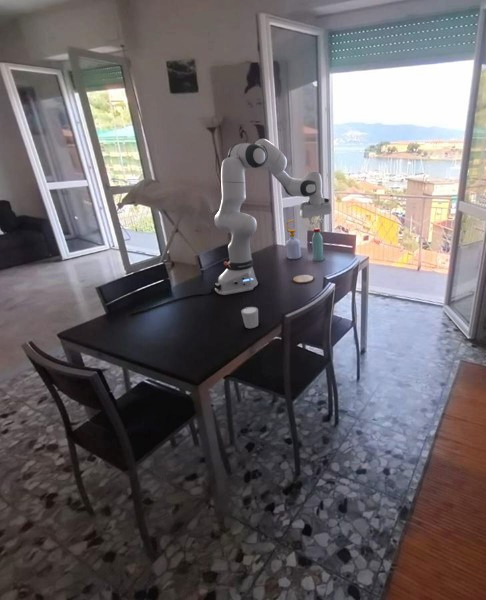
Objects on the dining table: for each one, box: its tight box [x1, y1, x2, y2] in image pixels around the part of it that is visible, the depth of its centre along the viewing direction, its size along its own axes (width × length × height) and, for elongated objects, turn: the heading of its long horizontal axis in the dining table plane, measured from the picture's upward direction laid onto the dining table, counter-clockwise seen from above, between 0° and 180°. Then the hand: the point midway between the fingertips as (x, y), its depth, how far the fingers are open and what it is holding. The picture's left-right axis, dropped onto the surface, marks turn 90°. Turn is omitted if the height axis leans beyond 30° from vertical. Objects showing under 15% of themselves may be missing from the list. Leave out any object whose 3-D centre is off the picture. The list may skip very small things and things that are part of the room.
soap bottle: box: [285, 218, 302, 260], centre depth 227 cm, size 9×9×25 cm
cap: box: [312, 227, 321, 233], centre depth 219 cm, size 4×4×2 cm
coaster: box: [292, 274, 314, 284], centre depth 195 cm, size 11×11×1 cm
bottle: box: [311, 232, 324, 262], centre depth 223 cm, size 6×6×20 cm
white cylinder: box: [240, 306, 259, 329], centre depth 148 cm, size 7×7×7 cm
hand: (316, 223), depth 217 cm, fingers open, 5 cm apart
